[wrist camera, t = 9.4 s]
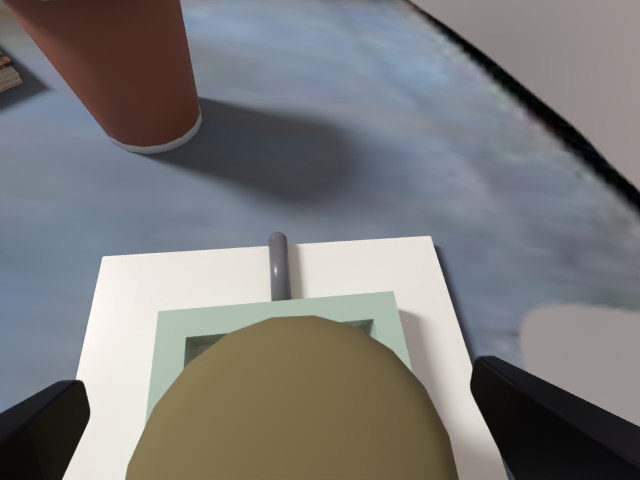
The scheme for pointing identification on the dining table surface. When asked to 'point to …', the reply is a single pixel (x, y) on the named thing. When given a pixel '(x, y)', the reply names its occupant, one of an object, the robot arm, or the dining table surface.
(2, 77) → the hardcover book
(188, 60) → the coffee cup
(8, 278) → the dining table surface
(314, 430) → the cork
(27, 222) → the dining table surface
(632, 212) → the dining table surface
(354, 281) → the dock plate
